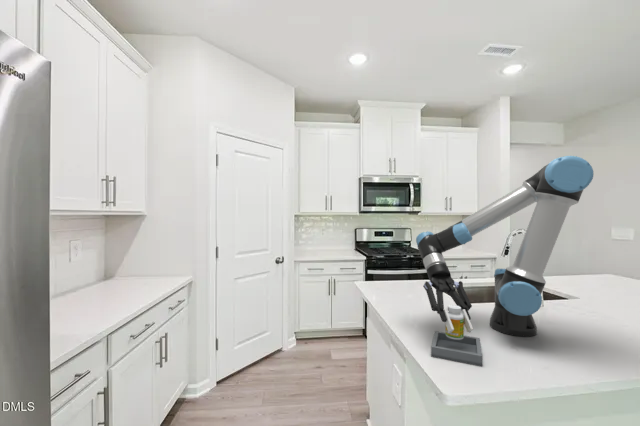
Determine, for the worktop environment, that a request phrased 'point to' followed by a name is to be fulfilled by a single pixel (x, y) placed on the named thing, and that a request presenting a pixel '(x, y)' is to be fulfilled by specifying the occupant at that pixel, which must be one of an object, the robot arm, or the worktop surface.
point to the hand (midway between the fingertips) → (460, 330)
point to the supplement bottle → (456, 323)
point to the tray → (457, 349)
